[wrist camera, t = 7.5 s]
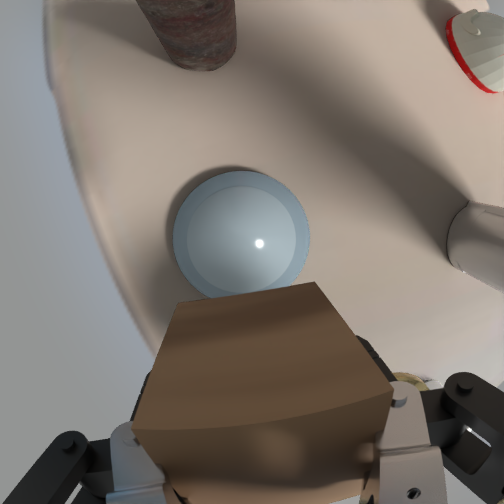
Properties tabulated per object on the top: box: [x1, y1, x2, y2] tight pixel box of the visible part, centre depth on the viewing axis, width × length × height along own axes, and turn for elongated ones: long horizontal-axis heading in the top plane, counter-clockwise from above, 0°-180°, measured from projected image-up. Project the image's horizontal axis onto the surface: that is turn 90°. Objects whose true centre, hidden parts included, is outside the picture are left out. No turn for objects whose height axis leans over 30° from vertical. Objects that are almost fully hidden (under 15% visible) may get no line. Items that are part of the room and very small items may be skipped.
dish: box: [173, 171, 310, 298], centre depth 29 cm, size 14×14×1 cm
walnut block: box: [131, 282, 394, 504], centre depth 8 cm, size 5×5×6 cm
